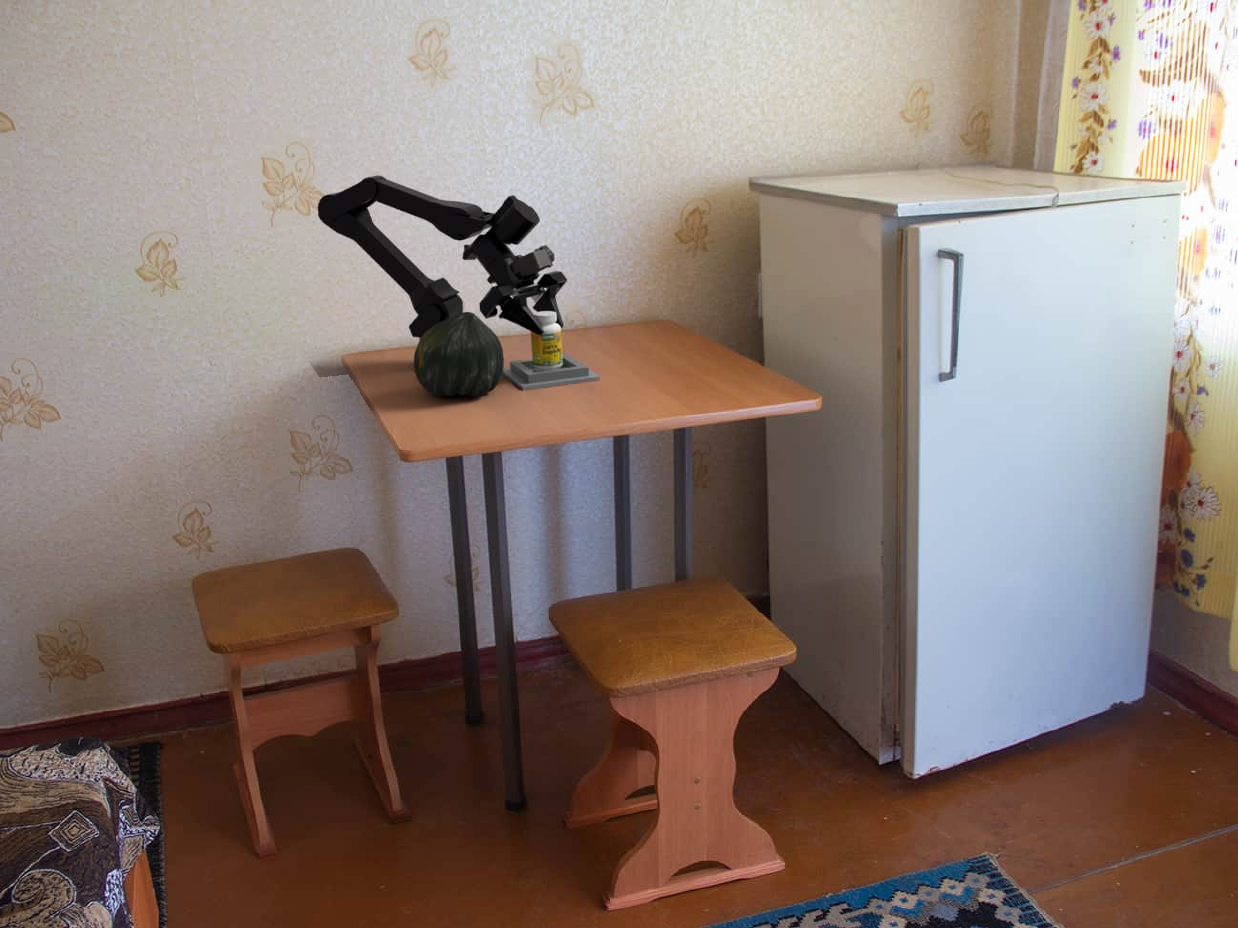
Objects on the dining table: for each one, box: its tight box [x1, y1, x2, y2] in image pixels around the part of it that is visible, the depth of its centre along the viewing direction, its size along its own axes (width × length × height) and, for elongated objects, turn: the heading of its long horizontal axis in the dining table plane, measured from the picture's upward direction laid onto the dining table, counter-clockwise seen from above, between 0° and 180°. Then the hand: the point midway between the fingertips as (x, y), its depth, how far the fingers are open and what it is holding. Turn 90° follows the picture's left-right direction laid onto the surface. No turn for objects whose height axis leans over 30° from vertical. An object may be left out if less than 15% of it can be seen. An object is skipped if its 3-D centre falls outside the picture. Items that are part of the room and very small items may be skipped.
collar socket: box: [502, 354, 601, 391], centre depth 206 cm, size 14×14×2 cm
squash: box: [413, 311, 505, 398], centre depth 195 cm, size 14×15×15 cm
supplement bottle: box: [530, 311, 563, 370], centre depth 204 cm, size 5×5×10 cm
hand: (552, 330), depth 203 cm, fingers closed on supplement bottle, 5 cm apart
